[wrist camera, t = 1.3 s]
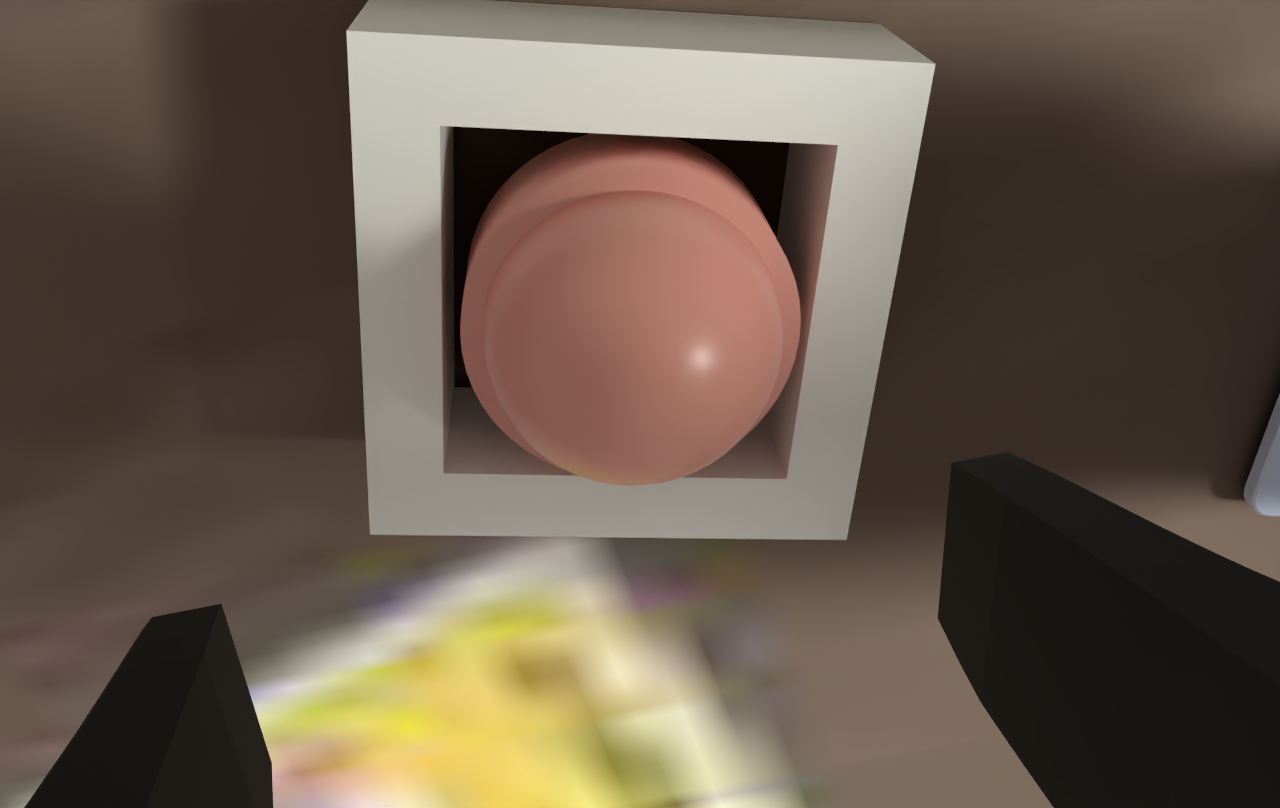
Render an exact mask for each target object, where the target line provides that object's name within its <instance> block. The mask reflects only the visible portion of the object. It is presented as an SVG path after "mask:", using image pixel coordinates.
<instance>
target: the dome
mask: <svg viewBox="0 0 1280 808" xmlns="http://www.w3.org/2000/svg"><path fill="white" fill-rule="evenodd" d="M800 326H801V314H800V300H799V295H798V290H797V285H796V281H795V278H794V275H793V272H792V270H791V267H790V264H789V262H788V259H787V258H786V256H785V254H784V252H783V250H782V248H781V246H780V244H779V243H778V241H777V239H776V237H775V235H774V233H773V231H772V229H771V227H770V226H769V224H768V222H767V220H766V218H765V216H764V214H763V212H762V211H761V209H760V207H759V205H758V203H757V201H756V200H755V198H754V196H753V195H752V194H751V192H750V191H749V190H748V188H747V187H746V186H745V184H744V183H743V182H742V181H741V180H740V179H739V178H738V177H737V176H736V175H735V174H734V173H733V172H732V171H731V170H730V169H729V168H728V167H727V166H726V165H724V164H723V163H722V162H720V161H719V160H718V159H716V158H715V157H714V156H712V155H711V154H709V153H707V152H705V151H704V150H702V149H700V148H698V147H696V146H695V145H692V144H690V143H687V142H685V141H682V140H680V139H677V138H674V137H662V136H641V135H620V134H599V133H592V134H588V135H584V136H580V137H577V138H573V139H570V140H568V141H565V142H563V143H561V144H558V145H556V146H554V147H551V148H549V149H548V150H546V151H544V152H543V153H541V154H539V155H537V156H536V157H534V158H532V159H531V160H530V161H528V162H527V163H526V164H525V165H523V166H522V167H521V168H520V169H518V170H517V171H516V172H515V173H514V174H513V175H512V176H511V177H510V178H509V179H508V180H507V181H506V182H505V183H504V184H503V185H502V186H501V187H500V189H499V190H498V191H497V193H496V194H495V196H494V197H493V198H492V200H491V201H490V202H489V204H488V206H487V208H486V209H485V211H484V213H483V215H482V217H481V219H480V221H479V223H478V226H477V228H476V231H475V234H474V237H473V239H472V243H471V248H470V253H469V257H468V264H467V272H466V279H465V287H464V294H463V302H462V310H461V324H460V337H461V350H462V355H463V359H464V364H465V368H466V372H467V375H468V377H469V380H470V383H471V385H472V388H473V390H474V392H475V394H476V396H477V397H478V399H479V401H480V403H481V405H482V406H483V408H484V409H485V411H486V412H487V413H488V415H489V416H490V417H491V419H492V420H493V421H494V423H495V424H496V425H497V426H498V427H499V428H500V429H501V430H502V431H503V432H504V433H505V434H506V435H507V436H508V437H509V438H510V439H511V440H513V441H514V442H515V443H516V444H518V445H519V446H520V447H522V448H523V449H524V450H526V451H527V452H529V453H530V454H532V455H534V456H535V457H537V458H539V459H540V460H542V461H544V462H547V463H549V464H551V465H553V466H556V467H558V468H560V469H563V470H566V471H569V472H571V473H573V474H575V475H578V476H580V477H583V478H586V479H589V480H593V481H596V482H601V483H607V484H612V485H625V486H637V485H650V484H657V483H663V482H667V481H671V480H675V479H678V478H681V477H684V476H687V475H689V474H692V473H694V472H696V471H698V470H700V469H702V468H704V467H706V466H708V465H710V464H711V463H713V462H714V461H716V460H717V459H719V458H720V457H722V456H723V455H725V454H726V453H727V452H728V451H729V450H730V449H731V448H733V447H734V446H735V445H736V444H737V443H738V442H739V441H740V440H741V439H742V438H743V437H744V436H746V435H747V434H748V433H749V432H750V431H751V430H752V429H754V427H755V426H756V425H757V424H758V423H759V422H760V421H761V420H762V419H763V417H764V416H765V415H766V414H767V413H768V411H769V410H770V409H771V407H772V406H773V404H774V403H775V401H776V400H777V399H778V397H779V395H780V393H781V392H782V390H783V388H784V386H785V384H786V382H787V380H788V378H789V375H790V372H791V370H792V367H793V364H794V362H795V358H796V354H797V349H798V344H799V339H800Z"/></svg>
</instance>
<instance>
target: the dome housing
mask: <svg viewBox="0 0 1280 808" xmlns="http://www.w3.org/2000/svg"><path fill="white" fill-rule="evenodd" d="M346 33H347V54H348V76H349V97H350V119H351V140H352V161H353V183H354V204H355V225H356V247H357V268H358V290H359V311H360V332H361V354H362V375H363V396H364V418H365V439H366V461H367V482H368V503H369V525H370V535H444V536H532V537H621V538H710V539H799V540H847V535H848V530H849V524H850V519H851V514H852V508H853V503H854V498H855V492H856V487H857V482H858V476H859V471H860V466H861V460H862V455H863V449H864V444H865V439H866V433H867V428H868V423H869V417H870V412H871V407H872V401H873V396H874V391H875V385H876V380H877V375H878V369H879V364H880V359H881V353H882V348H883V342H884V337H885V332H886V326H887V321H888V316H889V310H890V305H891V300H892V294H893V289H894V284H895V278H896V273H897V268H898V262H899V257H900V252H901V246H902V241H903V236H904V230H905V225H906V219H907V214H908V209H909V203H910V198H911V193H912V187H913V182H914V177H915V171H916V166H917V161H918V155H919V150H920V145H921V139H922V134H923V129H924V123H925V118H926V112H927V107H928V102H929V96H930V91H931V86H932V80H933V75H934V70H935V63H934V62H932V61H931V60H930V59H928V58H927V57H925V56H924V55H922V54H921V53H920V52H918V51H917V50H915V49H914V48H913V47H911V46H910V45H908V44H907V43H906V42H904V41H903V40H901V39H900V38H898V37H897V36H896V35H894V34H893V33H891V32H890V31H889V30H887V29H886V28H884V27H883V26H882V25H880V24H878V23H862V22H845V21H828V20H812V19H795V18H778V17H761V16H745V15H728V14H711V13H694V12H678V11H661V10H644V9H627V8H611V7H594V6H577V5H561V4H544V3H527V2H510V1H494V0H368V2H367V3H366V4H365V6H364V7H363V9H362V10H361V11H360V13H359V14H358V15H357V17H356V18H355V20H354V21H353V22H352V24H351V25H350V26H349V28H348V29H347V30H346ZM453 126H454V127H475V128H496V129H516V130H537V131H558V132H579V133H599V134H620V135H641V136H662V137H682V138H703V139H724V140H745V141H765V142H786V143H789V150H788V158H787V165H786V173H785V180H784V188H783V195H782V203H781V210H780V218H779V225H778V233H777V241H778V243H779V244H780V246H781V248H782V250H783V252H784V254H785V256H786V258H787V259H788V262H789V264H790V267H791V270H792V272H793V275H794V278H795V281H796V285H797V290H798V295H799V300H800V314H801V326H800V339H799V344H798V349H797V354H796V358H795V362H794V364H793V367H792V370H791V372H790V375H789V378H788V380H787V382H786V384H785V386H784V388H783V390H782V392H781V393H780V395H779V397H778V399H777V400H776V401H775V403H774V404H773V406H772V407H771V409H770V410H769V411H768V413H767V414H766V415H765V416H764V417H763V419H762V420H761V421H760V422H759V423H758V424H757V425H756V426H755V427H754V429H752V430H751V431H750V432H749V433H748V434H747V435H746V436H744V437H743V438H742V439H741V440H740V441H739V442H738V443H737V444H736V445H735V446H734V447H733V448H731V449H730V450H729V451H728V452H727V453H726V454H725V455H723V456H722V457H720V458H719V459H717V460H716V461H714V462H713V463H711V464H710V465H708V466H706V467H704V468H702V469H700V470H698V471H696V472H694V473H692V474H689V475H687V476H684V477H681V478H678V479H675V480H671V481H667V482H663V483H657V484H650V485H637V486H625V485H612V484H607V483H601V482H596V481H593V480H589V479H586V478H583V477H580V476H578V475H575V474H573V473H571V472H569V471H566V470H563V469H560V468H558V467H556V466H553V465H551V464H549V463H547V462H544V461H542V460H540V459H539V458H537V457H535V456H534V455H532V454H530V453H529V452H527V451H526V450H524V449H523V448H522V447H520V446H519V445H518V444H516V443H515V442H514V441H513V440H511V439H510V438H509V437H508V436H507V435H506V434H505V433H504V432H503V431H502V430H501V429H500V428H499V427H498V426H497V425H496V424H495V423H494V421H493V420H492V419H491V417H490V416H489V415H488V413H487V412H486V411H485V409H484V408H483V406H482V405H481V403H480V401H479V399H478V397H477V396H476V394H475V392H474V390H473V388H472V387H454V203H453Z"/></svg>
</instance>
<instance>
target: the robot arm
mask: <svg viewBox="0 0 1280 808" xmlns="http://www.w3.org/2000/svg"><path fill="white" fill-rule="evenodd" d="M1244 498H1245V500H1246V502H1247V503H1248V504H1249V505H1250V506H1251V507H1252V508H1253V509H1254V510H1255V511H1256V512H1257V513H1259V514H1260V515H1265V516H1280V394H1279V396H1278V399H1277V402H1276V404H1275V407H1274V410H1273V412H1272V415H1271V418H1270V420H1269V423H1268V426H1267V428H1266V431H1265V434H1264V436H1263V439H1262V442H1261V445H1260V447H1259V450H1258V453H1257V455H1256V458H1255V461H1254V463H1253V466H1252V469H1251V471H1250V474H1249V477H1248V479H1247V482H1246V485H1245V488H1244ZM938 620H939V622H940V624H941V626H942V628H943V630H944V632H945V634H946V636H947V638H948V640H949V642H950V644H951V646H952V648H953V650H954V652H955V654H956V656H957V658H958V660H959V662H960V664H961V666H962V668H963V670H964V672H965V674H966V675H967V677H968V679H969V681H970V683H971V685H972V687H973V689H974V690H975V692H976V694H977V696H978V698H979V700H980V702H981V703H982V705H983V706H984V708H985V709H986V711H987V712H988V714H989V715H990V717H991V718H992V720H993V721H994V723H995V724H996V725H997V727H998V728H999V730H1000V731H1001V733H1002V734H1003V736H1004V737H1005V738H1006V740H1007V741H1008V743H1009V744H1010V746H1011V747H1012V749H1013V750H1014V752H1015V753H1016V754H1017V756H1018V757H1019V759H1020V760H1021V762H1022V763H1023V765H1024V766H1025V767H1026V769H1027V770H1028V772H1029V773H1030V775H1031V776H1032V777H1033V779H1034V780H1035V782H1036V783H1037V784H1038V786H1039V787H1040V789H1041V790H1042V792H1043V793H1044V794H1045V796H1046V797H1047V799H1048V800H1049V802H1050V803H1051V804H1052V806H1053V807H1054V808H1280V582H1279V581H1276V580H1274V579H1272V578H1269V577H1267V576H1265V575H1262V574H1260V573H1258V572H1255V571H1253V570H1251V569H1249V568H1246V567H1244V566H1242V565H1240V564H1238V563H1236V562H1233V561H1231V560H1229V559H1227V558H1225V557H1223V556H1220V555H1218V554H1216V553H1214V552H1212V551H1210V550H1208V549H1205V548H1203V547H1201V546H1199V545H1197V544H1195V543H1193V542H1191V541H1189V540H1187V539H1185V538H1182V537H1180V536H1178V535H1176V534H1174V533H1172V532H1170V531H1168V530H1166V529H1164V528H1162V527H1160V526H1158V525H1156V524H1154V523H1152V522H1150V521H1148V520H1146V519H1144V518H1142V517H1140V516H1138V515H1136V514H1134V513H1132V512H1130V511H1128V510H1126V509H1124V508H1122V507H1120V506H1118V505H1116V504H1114V503H1112V502H1110V501H1108V500H1106V499H1104V498H1102V497H1100V496H1098V495H1096V494H1094V493H1092V492H1090V491H1088V490H1086V489H1084V488H1082V487H1080V486H1078V485H1076V484H1074V483H1072V482H1070V481H1068V480H1066V479H1064V478H1062V477H1060V476H1058V475H1056V474H1054V473H1052V472H1049V471H1047V470H1045V469H1043V468H1041V467H1039V466H1037V465H1035V464H1032V463H1030V462H1028V461H1026V460H1023V459H1021V458H1019V457H1016V456H1014V455H1012V454H1009V453H1007V452H1006V453H1001V454H996V455H991V456H986V457H981V458H975V459H970V460H965V461H960V462H955V463H951V475H950V486H949V497H948V509H947V520H946V531H945V543H944V554H943V565H942V577H941V588H940V599H939V611H938ZM24 808H273V792H272V763H271V760H270V756H269V753H268V750H267V747H266V744H265V741H264V737H263V734H262V731H261V728H260V725H259V722H258V718H257V715H256V712H255V709H254V706H253V703H252V699H251V696H250V693H249V690H248V687H247V684H246V680H245V677H244V674H243V671H242V668H241V665H240V661H239V658H238V655H237V652H236V649H235V646H234V642H233V639H232V636H231V633H230V630H229V626H228V623H227V620H226V617H225V614H224V611H223V607H222V604H219V605H213V606H208V607H203V608H198V609H193V610H187V611H182V612H177V613H172V614H167V615H161V616H156V617H152V618H151V619H150V621H149V622H148V623H147V625H146V626H145V627H144V628H143V630H142V631H141V633H140V634H139V636H138V637H137V639H136V640H135V642H134V644H133V645H132V647H131V648H130V650H129V651H128V653H127V655H126V656H125V658H124V659H123V661H122V662H121V664H120V666H119V667H118V669H117V670H116V672H115V673H114V675H113V677H112V678H111V680H110V681H109V683H108V684H107V686H106V688H105V689H104V691H103V692H102V694H101V695H100V697H99V699H98V700H97V702H96V703H95V705H94V706H93V708H92V709H91V711H90V712H89V714H88V715H87V717H86V718H85V720H84V721H83V723H82V725H81V726H80V728H79V729H78V731H77V732H76V734H75V735H74V737H73V738H72V740H71V741H70V742H69V744H68V745H67V747H66V748H65V750H64V751H63V753H62V754H61V756H60V757H59V758H58V760H57V761H56V763H55V764H54V766H53V767H52V769H51V770H50V771H49V773H48V774H47V776H46V777H45V779H44V780H43V782H42V783H41V785H40V786H39V787H38V789H37V790H36V792H35V793H34V795H33V796H32V798H31V799H30V800H29V802H28V803H27V805H26V806H25V807H24Z"/></svg>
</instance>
